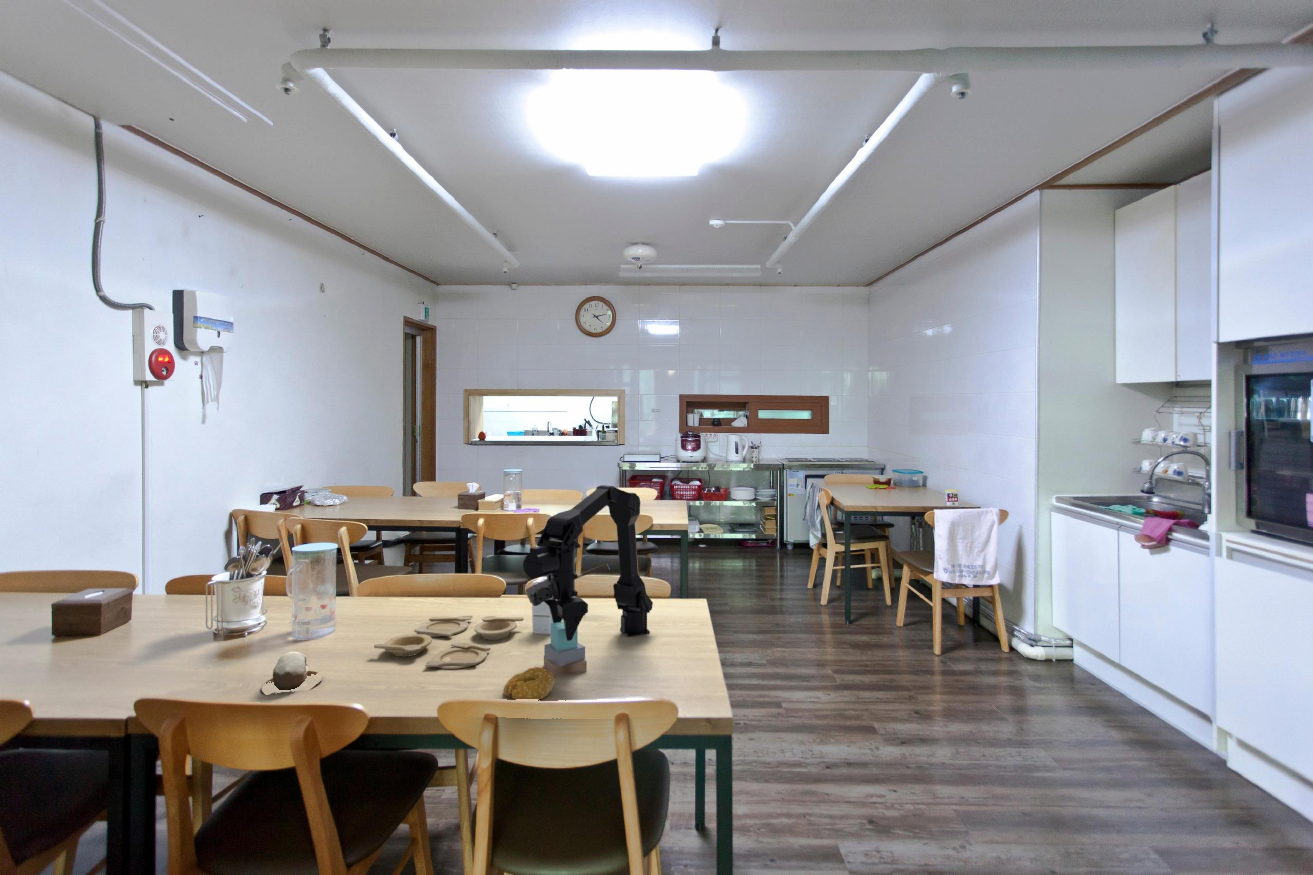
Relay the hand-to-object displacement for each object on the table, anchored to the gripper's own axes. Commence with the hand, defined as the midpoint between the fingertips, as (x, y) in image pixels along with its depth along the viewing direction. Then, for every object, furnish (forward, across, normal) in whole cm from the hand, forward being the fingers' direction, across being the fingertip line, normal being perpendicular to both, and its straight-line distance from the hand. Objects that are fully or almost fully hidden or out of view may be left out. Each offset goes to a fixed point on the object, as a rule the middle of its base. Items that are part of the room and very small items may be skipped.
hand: (562, 634), depth 150 cm
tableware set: (+9, -29, -21) cm, 37 cm away
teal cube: (+3, 0, 0) cm, 3 cm away
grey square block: (+6, 0, 0) cm, 6 cm away
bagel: (+9, +10, -11) cm, 17 cm away
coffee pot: (+8, -39, +17) cm, 43 cm away
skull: (+9, -18, -57) cm, 61 cm away
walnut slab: (+9, 0, 0) cm, 9 cm away
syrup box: (+8, -27, +4) cm, 29 cm away
